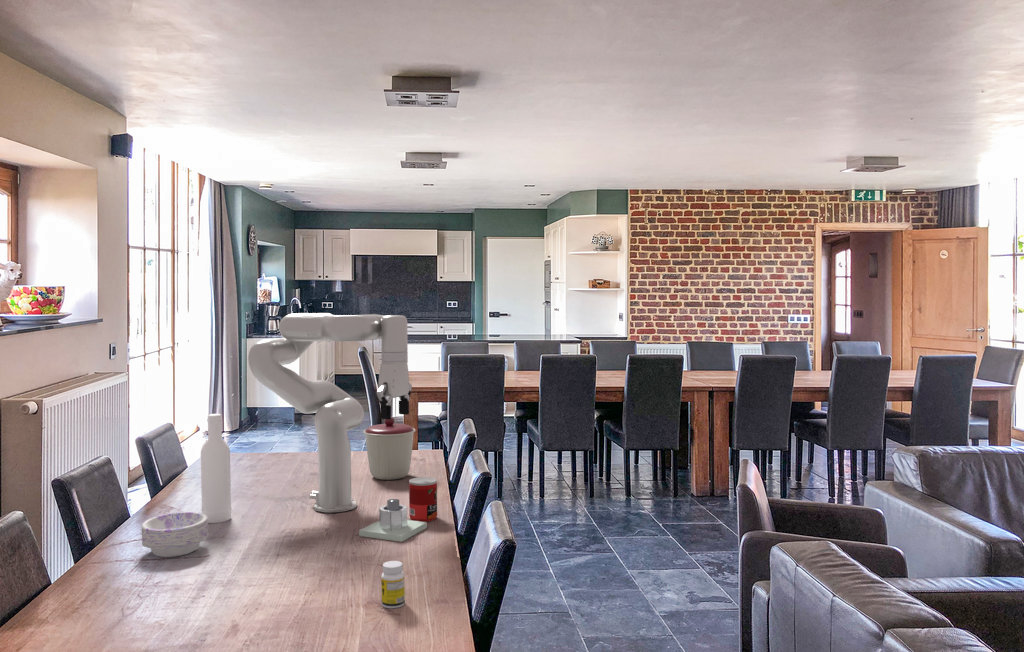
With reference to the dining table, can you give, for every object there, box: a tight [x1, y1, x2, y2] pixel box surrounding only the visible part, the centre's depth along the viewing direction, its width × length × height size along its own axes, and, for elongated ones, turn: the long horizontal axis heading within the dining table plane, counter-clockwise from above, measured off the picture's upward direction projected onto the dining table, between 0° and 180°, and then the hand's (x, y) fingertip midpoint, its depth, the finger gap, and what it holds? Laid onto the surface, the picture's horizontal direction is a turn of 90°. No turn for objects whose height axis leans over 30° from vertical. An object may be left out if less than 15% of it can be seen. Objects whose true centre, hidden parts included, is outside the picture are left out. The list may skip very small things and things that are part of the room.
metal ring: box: [378, 503, 408, 530], centre depth 206 cm, size 7×7×5 cm
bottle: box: [200, 413, 233, 524], centre depth 218 cm, size 8×8×30 cm
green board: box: [358, 519, 428, 543], centre depth 206 cm, size 13×13×2 cm
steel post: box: [386, 498, 400, 511], centre depth 206 cm, size 3×3×7 cm
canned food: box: [408, 476, 438, 523], centre depth 219 cm, size 8×8×11 cm
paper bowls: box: [140, 511, 209, 558], centre depth 191 cm, size 15×15×8 cm
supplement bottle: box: [380, 560, 406, 609], centre depth 157 cm, size 5×5×8 cm
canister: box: [363, 416, 416, 481], centre depth 269 cm, size 18×18×21 cm
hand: (395, 416), depth 223 cm, fingers open, 9 cm apart
